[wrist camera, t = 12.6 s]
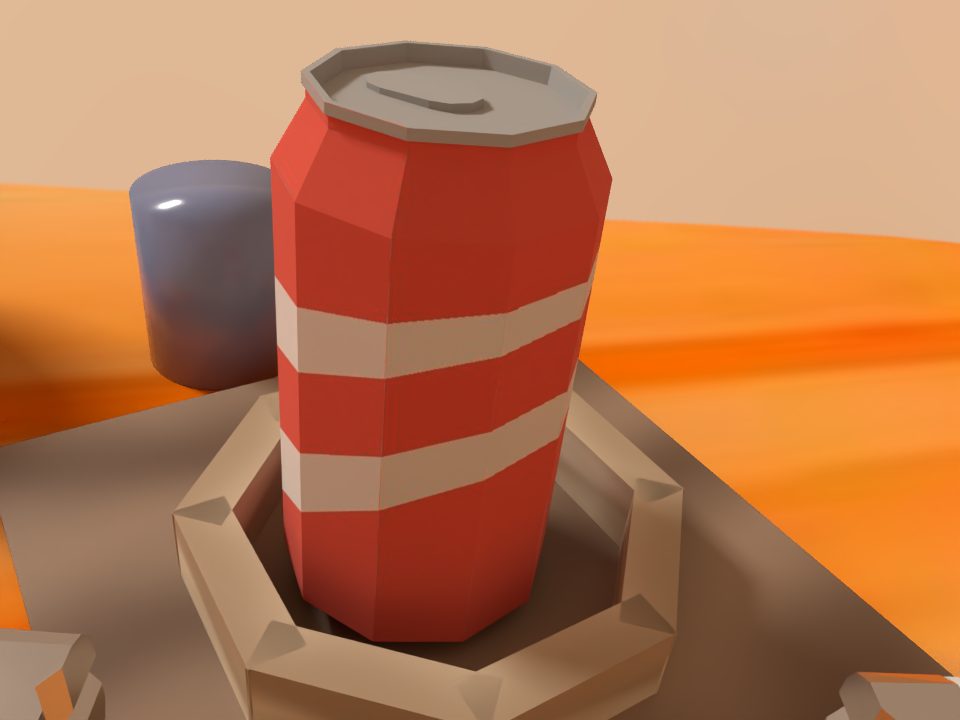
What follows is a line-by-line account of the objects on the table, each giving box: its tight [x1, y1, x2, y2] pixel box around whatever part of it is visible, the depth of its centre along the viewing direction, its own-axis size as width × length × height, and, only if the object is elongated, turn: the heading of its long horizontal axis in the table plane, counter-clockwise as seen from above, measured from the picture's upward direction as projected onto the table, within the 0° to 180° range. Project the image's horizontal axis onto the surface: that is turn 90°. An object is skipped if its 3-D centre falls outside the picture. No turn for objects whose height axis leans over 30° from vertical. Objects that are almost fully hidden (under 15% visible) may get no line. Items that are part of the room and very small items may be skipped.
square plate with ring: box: [0, 359, 954, 720], centre depth 22 cm, size 18×18×3 cm
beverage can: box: [270, 41, 612, 642], centre depth 19 cm, size 6×6×12 cm
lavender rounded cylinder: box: [129, 160, 278, 390], centre depth 30 cm, size 5×5×6 cm
